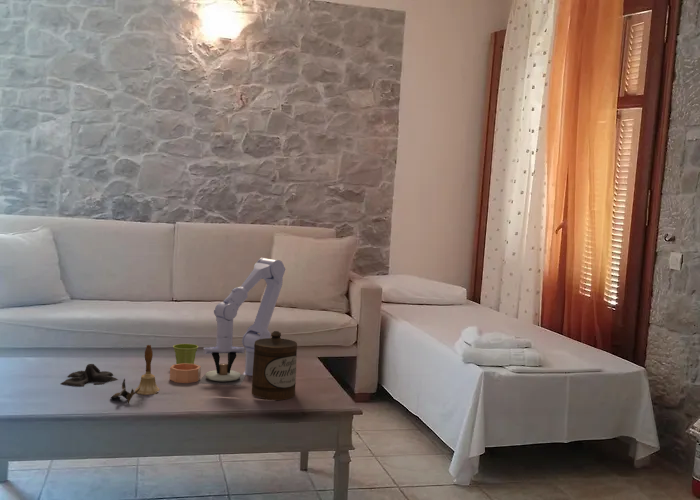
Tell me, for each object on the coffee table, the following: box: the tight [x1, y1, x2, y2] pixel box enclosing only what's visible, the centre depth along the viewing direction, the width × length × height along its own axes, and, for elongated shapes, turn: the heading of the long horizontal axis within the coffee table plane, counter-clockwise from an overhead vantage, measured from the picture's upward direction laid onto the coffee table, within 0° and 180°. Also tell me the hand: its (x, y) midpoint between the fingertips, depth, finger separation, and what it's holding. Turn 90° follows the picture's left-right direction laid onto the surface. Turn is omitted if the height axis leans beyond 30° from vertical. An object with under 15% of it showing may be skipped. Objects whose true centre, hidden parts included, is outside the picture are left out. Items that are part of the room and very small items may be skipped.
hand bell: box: [134, 344, 160, 396], centre depth 251 cm, size 8×8×16 cm
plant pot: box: [172, 343, 199, 364], centre depth 285 cm, size 9×9×9 cm
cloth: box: [60, 363, 119, 388], centre depth 263 cm, size 22×19×6 cm
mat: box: [197, 373, 247, 387], centre depth 271 cm, size 15×15×1 cm
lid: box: [205, 363, 241, 381], centre depth 271 cm, size 12×12×4 cm
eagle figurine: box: [110, 378, 140, 404], centre depth 241 cm, size 8×7×9 cm
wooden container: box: [251, 330, 298, 401], centre depth 256 cm, size 15×15×22 cm
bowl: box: [169, 363, 202, 384], centre depth 268 cm, size 10×10×5 cm
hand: (223, 372), depth 271 cm, fingers closed on lid, 3 cm apart
